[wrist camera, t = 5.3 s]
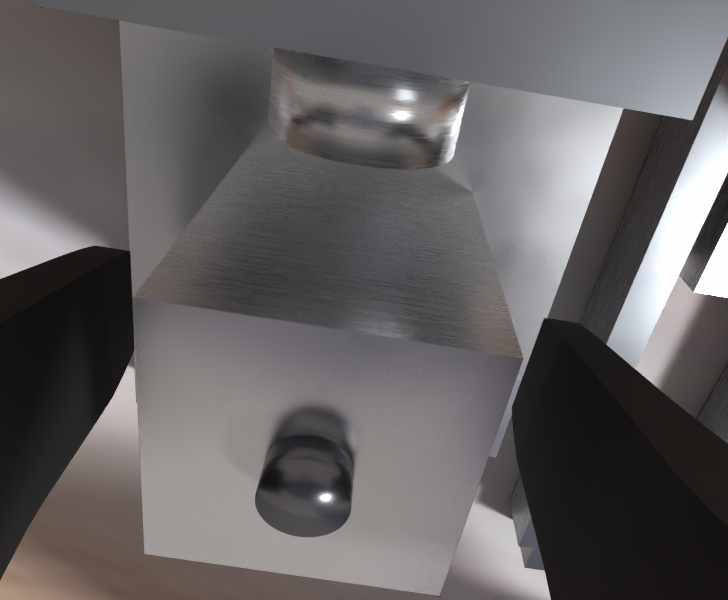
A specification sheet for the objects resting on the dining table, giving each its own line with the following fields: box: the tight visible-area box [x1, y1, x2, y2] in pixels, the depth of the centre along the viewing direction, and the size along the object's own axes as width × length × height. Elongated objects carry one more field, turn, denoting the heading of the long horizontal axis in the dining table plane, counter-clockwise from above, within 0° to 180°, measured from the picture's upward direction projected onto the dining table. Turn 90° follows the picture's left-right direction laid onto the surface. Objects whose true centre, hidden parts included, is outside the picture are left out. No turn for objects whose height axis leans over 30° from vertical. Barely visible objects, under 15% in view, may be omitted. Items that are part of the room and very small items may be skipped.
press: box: [35, 0, 728, 570], centre depth 11 cm, size 17×15×6 cm
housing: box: [133, 155, 524, 596], centre depth 10 cm, size 4×4×6 cm
